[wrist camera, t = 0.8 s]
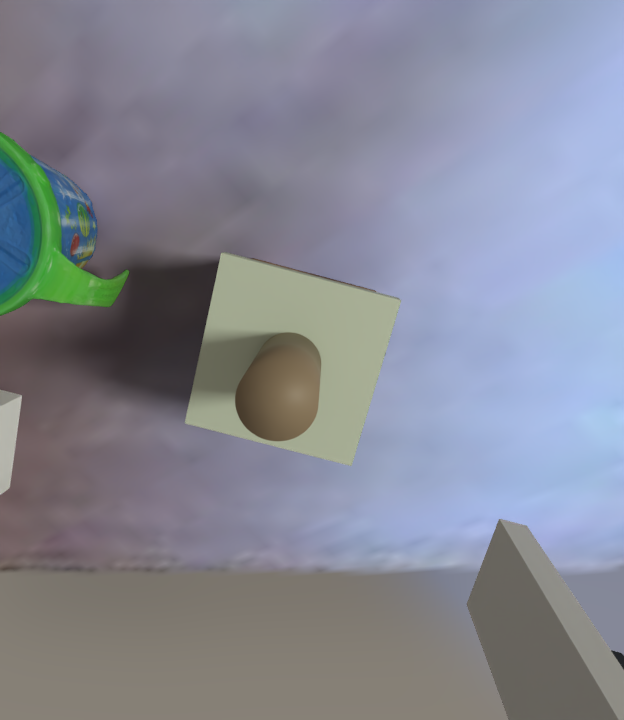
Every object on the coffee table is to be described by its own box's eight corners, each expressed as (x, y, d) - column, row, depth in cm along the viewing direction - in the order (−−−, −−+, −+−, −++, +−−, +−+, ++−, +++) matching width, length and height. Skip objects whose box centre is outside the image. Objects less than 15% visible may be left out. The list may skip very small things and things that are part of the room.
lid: (190, 416, 31) (142, 476, 23) (225, 252, 29) (186, 257, 21) (350, 457, 32) (357, 531, 24) (398, 297, 29) (423, 319, 21)
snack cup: (182, 236, 37) (127, 235, 27) (101, 350, 39) (23, 388, 29) (-6, 88, 35) (-139, 29, 25) (-80, 215, 37) (-230, 207, 27)
